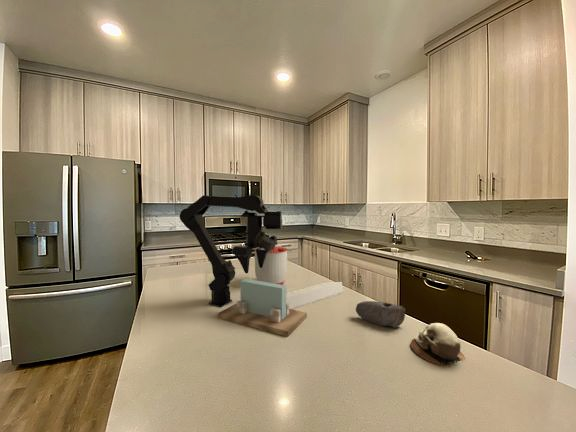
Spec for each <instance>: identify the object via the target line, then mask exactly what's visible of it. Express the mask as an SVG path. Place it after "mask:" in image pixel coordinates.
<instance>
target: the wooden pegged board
mask: <svg viewBox="0 0 576 432" xmlns="http://www.w3.org/2000/svg"><path fill="white" fill-rule="evenodd" d="M307 313H308V312H305V311H301V310H295V309H293V310H292V309H289V303H286V317H285V318H283V319H282V320H281V310H279V309H274V308H272V309H270V317H268V316H263V315H259V314H255V313H251V312H247V311H246V302H243V301H241V300H238V301H236V303H234V304H232V305H230V306H229V307H227V308H225V309H223V310H222V311H219V312H218V313H217V317H218V319H223V320H225V321H229V322H233V323H237V324H241V325H244V326H247V327H252V328H256V329H258V330H261V331H266V332H270V333H273V334H277V335H280V336H282V337H283V336H284V337H287V338H288V337H289V336H291V334H292V333H293V332H294V331H296V330H297V328H298V327H299V326H300V325H301V324H302V323H303V322H304V321H305V319H307V317H308V314H307Z"/></svg>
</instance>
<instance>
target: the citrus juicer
mask: <svg viewBox="0 0 576 432" xmlns="http://www.w3.org/2000/svg"><path fill="white" fill-rule="evenodd" d="M253 259H254V273H255V279H256V281H262V282H268V283H274V284H280V285H284V282H285V280H286V276H287V270H288V269H287V268H288V248H286V247H281V246H275V247H274V250H271V251H270V252H269V253H267V255H266V258H265V261H264V264H263V267H262V268H260V267H259V263H258V258H257V253H256V250H254V256H253Z"/></svg>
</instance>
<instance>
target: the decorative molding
mask: <svg viewBox="0 0 576 432" xmlns="http://www.w3.org/2000/svg"><path fill="white" fill-rule="evenodd" d="M343 293H344V287H343V282H342V281H332V282H331V281H330V282H323V283H318V284H315V285H312V286H307V287H305V288H301V289H296V290H293V291H289V292H286V303H289V309H292V310H295V309H297V308H301V307H304V306H307V305H309V304H313V303H316V302H319V301H322V299H323V300H325V298H326V299H329V298H331V297H335V296H337V295H340V294H343ZM334 295H335V296H334ZM328 297H329V298H328Z"/></svg>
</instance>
